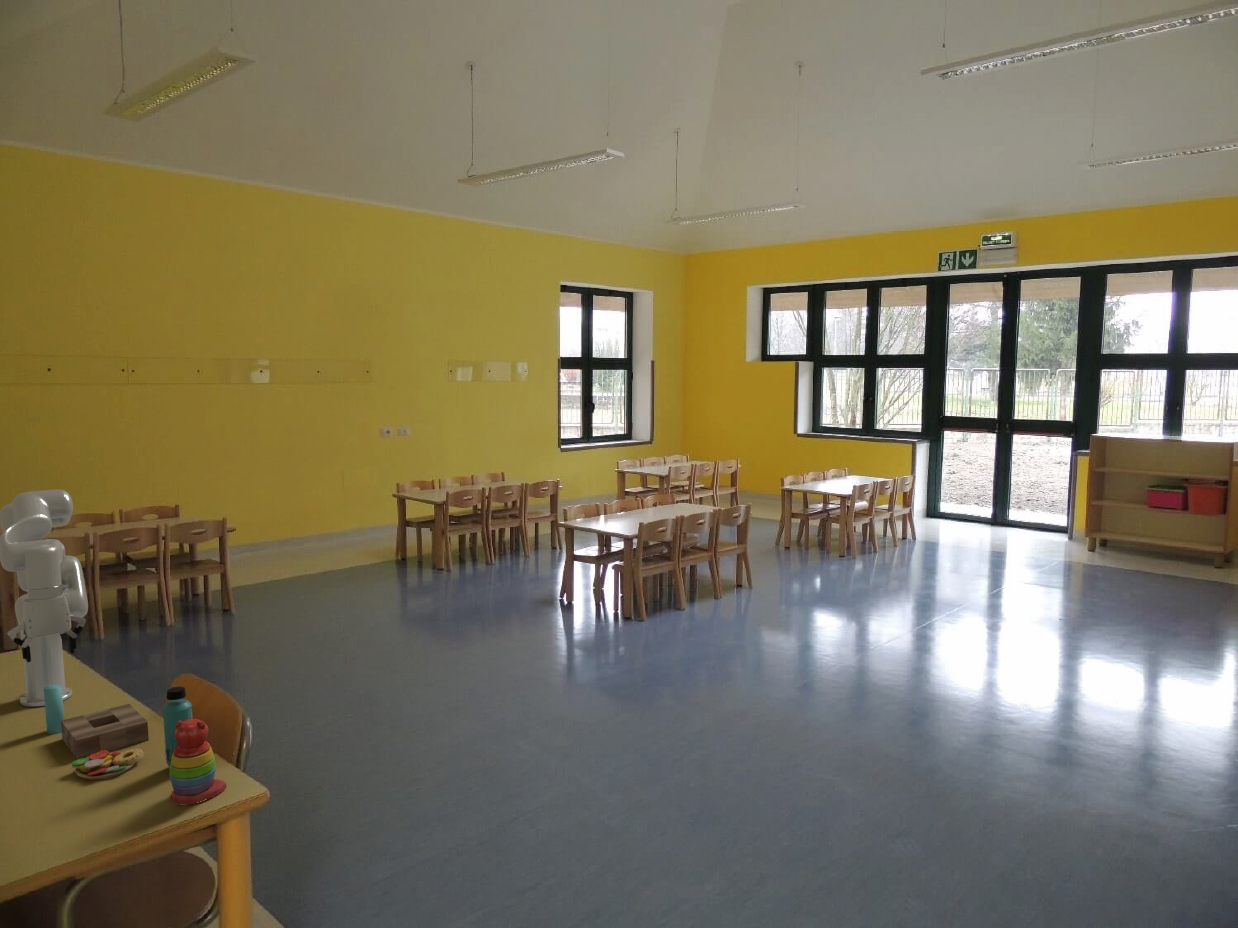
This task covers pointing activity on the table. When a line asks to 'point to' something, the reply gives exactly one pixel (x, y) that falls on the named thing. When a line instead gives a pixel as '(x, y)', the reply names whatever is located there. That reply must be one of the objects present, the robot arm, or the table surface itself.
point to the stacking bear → (193, 764)
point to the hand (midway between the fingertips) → (50, 656)
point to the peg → (53, 708)
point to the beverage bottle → (174, 717)
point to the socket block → (104, 730)
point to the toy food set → (106, 764)
